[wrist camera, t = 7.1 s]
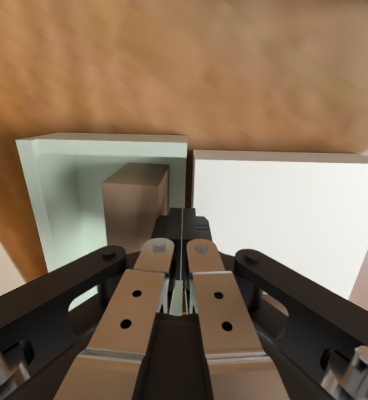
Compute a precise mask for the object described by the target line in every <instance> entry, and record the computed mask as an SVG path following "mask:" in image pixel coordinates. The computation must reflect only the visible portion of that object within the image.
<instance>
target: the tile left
mask: <svg viewBox="0 0 368 400" xmlns="http://www.w3.org/2000/svg"><path fill="white" fill-rule="evenodd" d="M169 176H170V165H166V164H149V163H132V162H128V163H127V164H126V165H124V166H123V167H122V168H120V169H119V170H118V171H116V172H115V173H114V174H112V175H111V176H110V177H108V178H107V179H106V180H104V181H103V182H101V185H102V196H103V206H104V217H105V228H106V239H107V246H109V245H117V246H121V247H123V248H124V249H125V251H126V254H129V253H134V252H138V251H141V250H142V248H143V246H144V244H145V243H146V242H147V241H149V240H150V239H151V236H152V232H153V229H154V225H155V221H156V219H157V218H159V216H161V215H169Z"/></svg>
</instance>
